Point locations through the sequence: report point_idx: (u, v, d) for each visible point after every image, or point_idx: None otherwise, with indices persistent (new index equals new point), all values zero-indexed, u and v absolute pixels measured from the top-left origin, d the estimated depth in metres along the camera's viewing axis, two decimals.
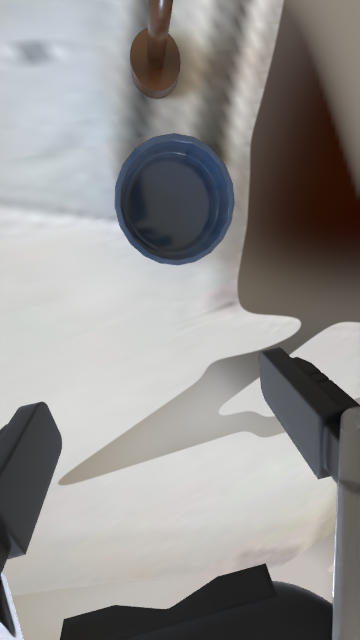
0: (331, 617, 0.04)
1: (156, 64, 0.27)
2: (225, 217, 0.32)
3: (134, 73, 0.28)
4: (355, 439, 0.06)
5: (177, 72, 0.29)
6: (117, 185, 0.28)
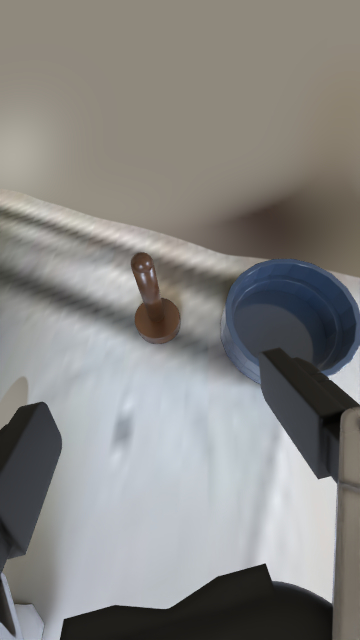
0: (331, 617, 0.04)
1: (163, 314, 0.30)
2: (305, 270, 0.30)
3: (162, 337, 0.30)
4: (355, 439, 0.06)
5: (169, 301, 0.32)
6: None
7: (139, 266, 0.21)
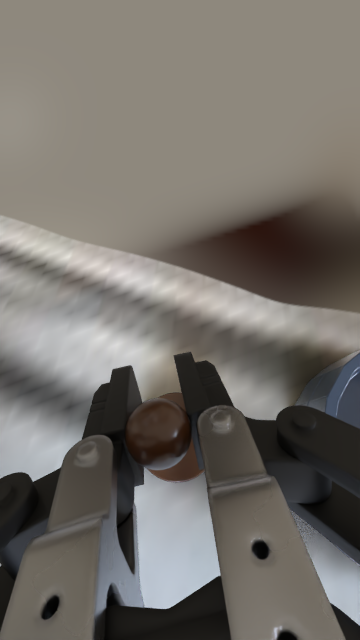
0: None
1: None
2: None
3: (188, 479, 0.16)
4: (211, 440, 0.06)
5: None
6: None
7: (152, 459, 0.07)
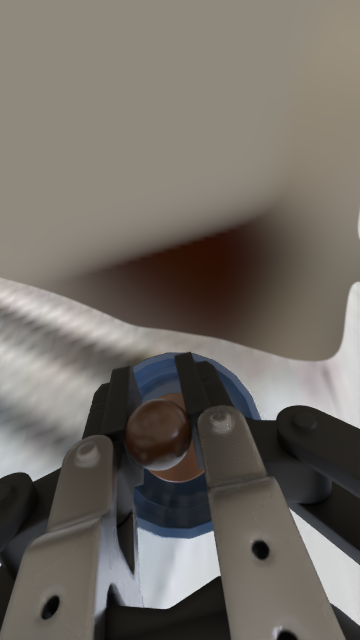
0: None
1: None
2: None
3: (188, 479, 0.16)
4: (211, 440, 0.06)
5: None
6: None
7: (152, 460, 0.07)
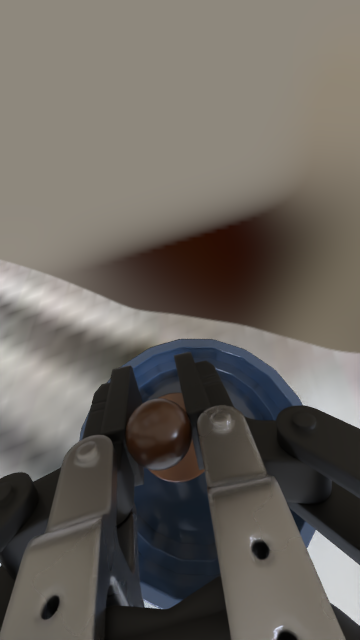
0: None
1: None
2: (234, 358, 0.17)
3: (188, 479, 0.16)
4: (211, 440, 0.06)
5: None
6: None
7: (152, 460, 0.07)
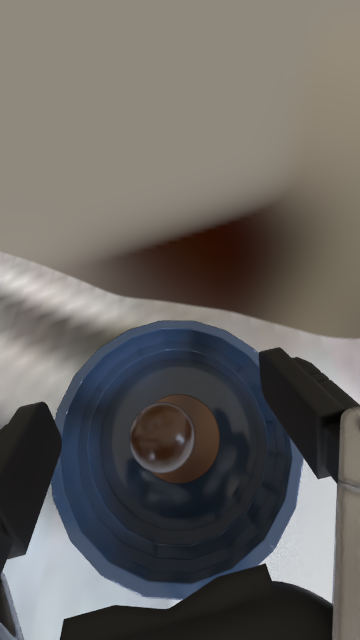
0: (331, 617, 0.04)
1: None
2: (216, 340, 0.17)
3: (190, 480, 0.16)
4: (355, 439, 0.06)
5: (199, 402, 0.18)
6: (104, 571, 0.12)
7: (156, 463, 0.07)
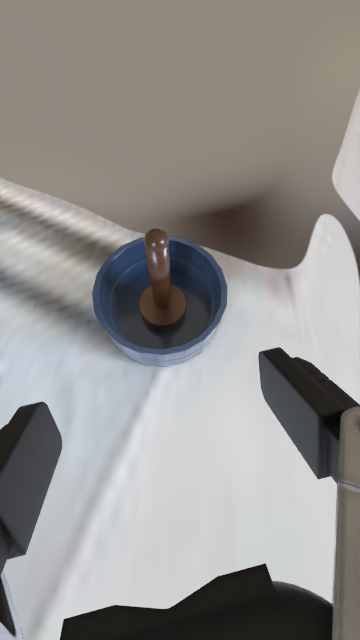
0: (331, 617, 0.04)
1: (170, 300, 0.28)
2: (189, 250, 0.29)
3: (167, 324, 0.29)
4: (355, 439, 0.06)
5: (176, 287, 0.30)
6: (120, 342, 0.25)
7: (153, 243, 0.19)
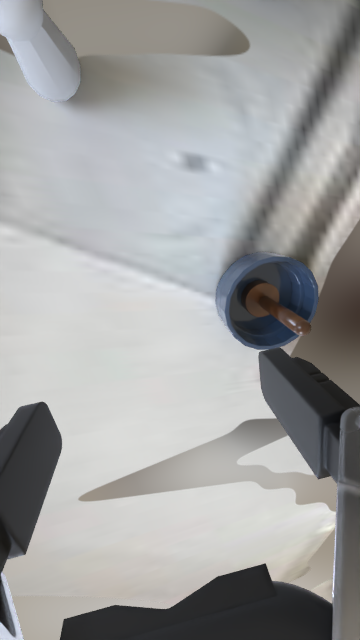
0: (331, 617, 0.04)
1: None
2: None
3: (246, 305, 0.40)
4: (355, 439, 0.06)
5: None
6: (234, 283, 0.35)
7: (299, 329, 0.29)
